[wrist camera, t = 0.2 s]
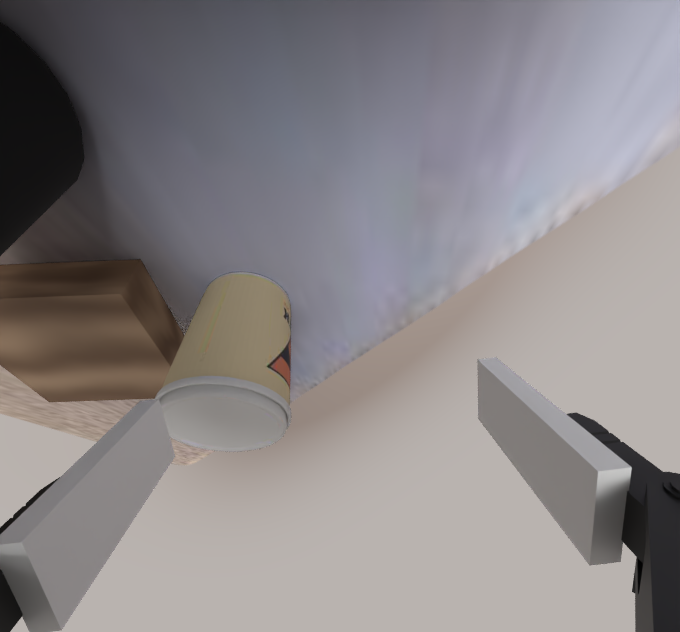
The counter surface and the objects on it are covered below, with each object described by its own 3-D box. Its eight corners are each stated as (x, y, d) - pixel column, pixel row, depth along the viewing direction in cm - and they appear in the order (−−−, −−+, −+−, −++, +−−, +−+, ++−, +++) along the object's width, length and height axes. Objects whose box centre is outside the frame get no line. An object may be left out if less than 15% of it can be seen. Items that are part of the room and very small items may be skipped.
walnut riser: (-44, 266, 28) (-83, 301, 26) (140, 259, 28) (120, 294, 26) (68, 369, 39) (49, 402, 37) (201, 365, 39) (191, 397, 37)
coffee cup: (288, 342, 37) (276, 458, 29) (194, 325, 34) (152, 446, 26) (311, 277, 30) (304, 405, 22) (196, 251, 28) (143, 383, 20)
